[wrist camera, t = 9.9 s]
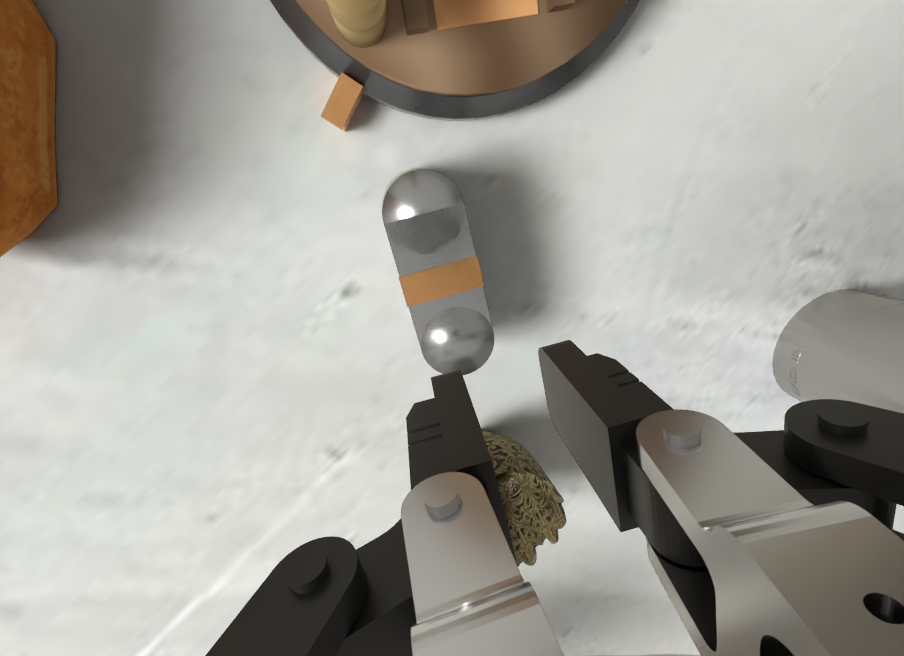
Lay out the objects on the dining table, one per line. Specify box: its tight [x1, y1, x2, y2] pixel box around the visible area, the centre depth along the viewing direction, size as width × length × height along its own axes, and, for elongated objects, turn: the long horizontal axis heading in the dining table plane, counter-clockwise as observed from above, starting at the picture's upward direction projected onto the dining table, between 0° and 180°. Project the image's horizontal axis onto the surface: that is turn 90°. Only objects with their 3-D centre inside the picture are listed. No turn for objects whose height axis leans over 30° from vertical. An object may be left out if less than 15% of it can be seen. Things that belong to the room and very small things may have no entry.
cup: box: [482, 431, 566, 567], centre depth 30 cm, size 8×7×8 cm
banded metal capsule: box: [382, 169, 494, 375], centre depth 26 cm, size 4×11×6 cm, turn 14°
